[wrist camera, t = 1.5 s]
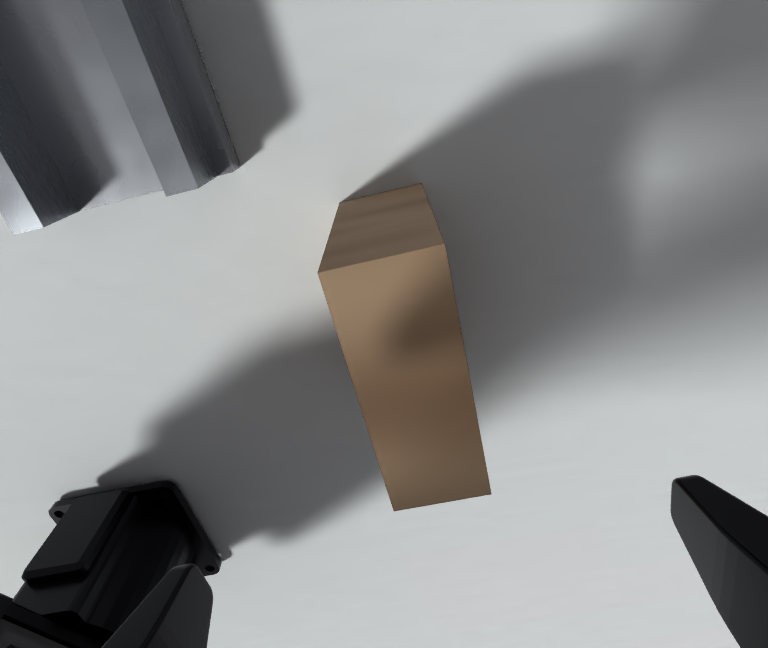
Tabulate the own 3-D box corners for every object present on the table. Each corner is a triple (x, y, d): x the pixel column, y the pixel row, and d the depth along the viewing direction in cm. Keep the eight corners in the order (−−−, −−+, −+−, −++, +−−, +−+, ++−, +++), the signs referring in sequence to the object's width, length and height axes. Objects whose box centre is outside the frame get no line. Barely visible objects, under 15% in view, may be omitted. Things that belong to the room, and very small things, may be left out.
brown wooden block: (457, 368, 21) (491, 494, 15) (389, 382, 21) (393, 511, 15) (421, 182, 17) (445, 243, 11) (339, 202, 17) (317, 272, 11)
